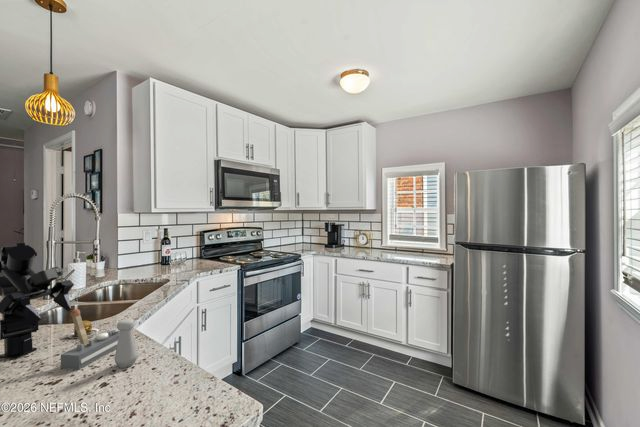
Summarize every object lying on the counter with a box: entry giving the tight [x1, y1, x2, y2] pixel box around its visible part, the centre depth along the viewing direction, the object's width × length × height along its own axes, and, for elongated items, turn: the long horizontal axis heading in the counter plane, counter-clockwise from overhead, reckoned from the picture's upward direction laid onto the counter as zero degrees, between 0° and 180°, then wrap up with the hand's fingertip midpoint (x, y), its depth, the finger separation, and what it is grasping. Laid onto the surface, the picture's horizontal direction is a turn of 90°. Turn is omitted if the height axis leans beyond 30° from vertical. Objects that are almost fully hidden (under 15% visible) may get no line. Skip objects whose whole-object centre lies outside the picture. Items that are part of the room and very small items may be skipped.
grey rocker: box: [106, 327, 120, 333], centre depth 102 cm, size 3×2×1 cm, turn 82°
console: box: [60, 330, 120, 371], centre depth 96 cm, size 6×18×6 cm, turn 172°
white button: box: [95, 332, 108, 340], centre depth 98 cm, size 3×3×1 cm
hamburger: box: [67, 320, 99, 339], centre depth 113 cm, size 12×12×6 cm
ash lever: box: [69, 308, 89, 345], centre depth 92 cm, size 2×2×11 cm
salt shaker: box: [113, 318, 139, 369], centre depth 89 cm, size 6×6×13 cm
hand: (55, 314), depth 93 cm, fingers open, 9 cm apart
